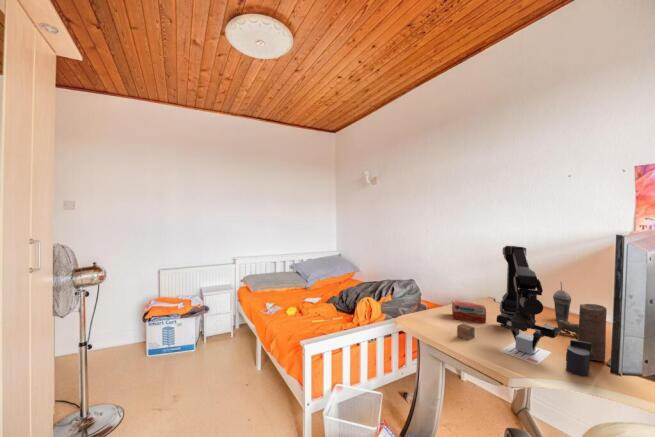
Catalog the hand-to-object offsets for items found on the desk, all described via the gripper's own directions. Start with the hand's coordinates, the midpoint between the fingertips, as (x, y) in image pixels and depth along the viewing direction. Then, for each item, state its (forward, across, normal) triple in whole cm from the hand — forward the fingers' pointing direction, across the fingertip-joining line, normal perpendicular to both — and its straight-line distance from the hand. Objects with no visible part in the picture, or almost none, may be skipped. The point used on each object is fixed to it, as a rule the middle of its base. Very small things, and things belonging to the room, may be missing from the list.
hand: (525, 346), depth 104 cm
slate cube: (+1, 0, 0) cm, 1 cm away
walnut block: (+2, -20, -6) cm, 21 cm away
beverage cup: (+2, -2, +57) cm, 57 cm away
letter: (+2, 0, 0) cm, 2 cm away
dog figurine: (+2, +7, +36) cm, 37 cm away
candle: (+2, +16, +15) cm, 22 cm away
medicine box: (+3, -31, +19) cm, 36 cm away
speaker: (+2, +16, -2) cm, 16 cm away
